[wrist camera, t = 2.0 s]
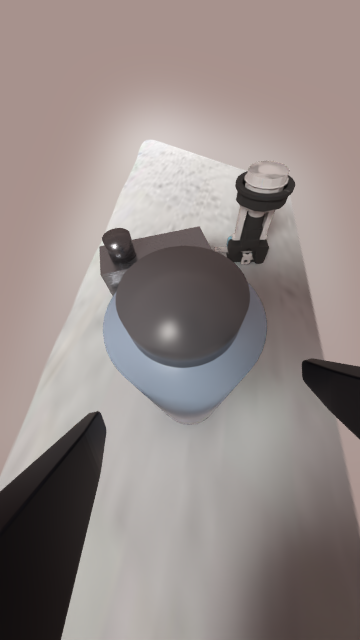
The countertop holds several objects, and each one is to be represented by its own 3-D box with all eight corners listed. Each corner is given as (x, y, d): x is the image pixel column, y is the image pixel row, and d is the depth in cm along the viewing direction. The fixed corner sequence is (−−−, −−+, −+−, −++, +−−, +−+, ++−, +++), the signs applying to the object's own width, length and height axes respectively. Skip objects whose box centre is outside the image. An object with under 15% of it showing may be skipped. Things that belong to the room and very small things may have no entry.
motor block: (222, 326, 21) (237, 272, 14) (125, 350, 20) (90, 305, 13) (197, 269, 25) (200, 206, 18) (119, 286, 24) (90, 228, 17)
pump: (226, 415, 16) (330, 353, 4) (166, 432, 16) (82, 420, 4) (207, 358, 19) (235, 218, 7) (155, 371, 18) (86, 247, 6)
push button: (214, 272, 25) (226, 186, 16) (212, 245, 27) (221, 159, 19) (267, 271, 24) (308, 182, 16) (259, 244, 27) (291, 155, 18)
